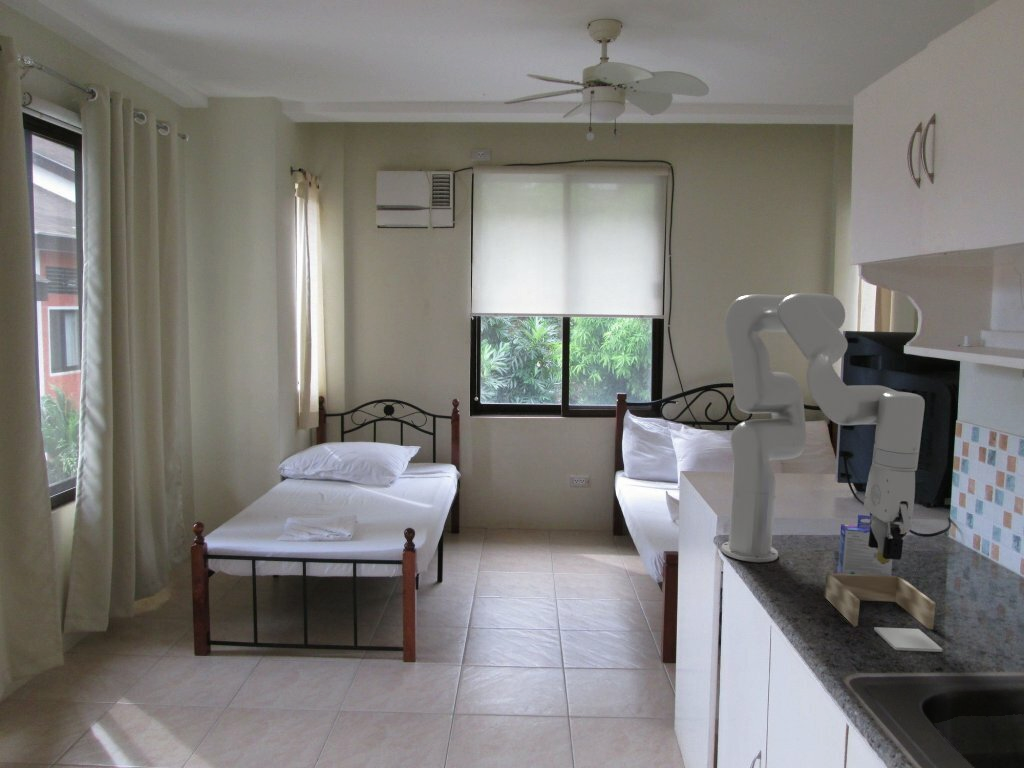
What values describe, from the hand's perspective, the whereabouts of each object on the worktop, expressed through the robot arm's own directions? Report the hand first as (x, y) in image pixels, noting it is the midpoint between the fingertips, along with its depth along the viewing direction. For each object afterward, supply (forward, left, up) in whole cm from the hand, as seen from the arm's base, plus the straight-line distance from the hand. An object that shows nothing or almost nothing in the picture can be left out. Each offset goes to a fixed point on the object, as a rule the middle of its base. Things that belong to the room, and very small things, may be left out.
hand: (884, 551), depth 146 cm
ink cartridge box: (-16, +4, -13) cm, 21 cm away
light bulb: (0, 0, -3) cm, 3 cm away
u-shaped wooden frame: (-1, 0, -13) cm, 13 cm away
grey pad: (+11, 0, -13) cm, 16 cm away
